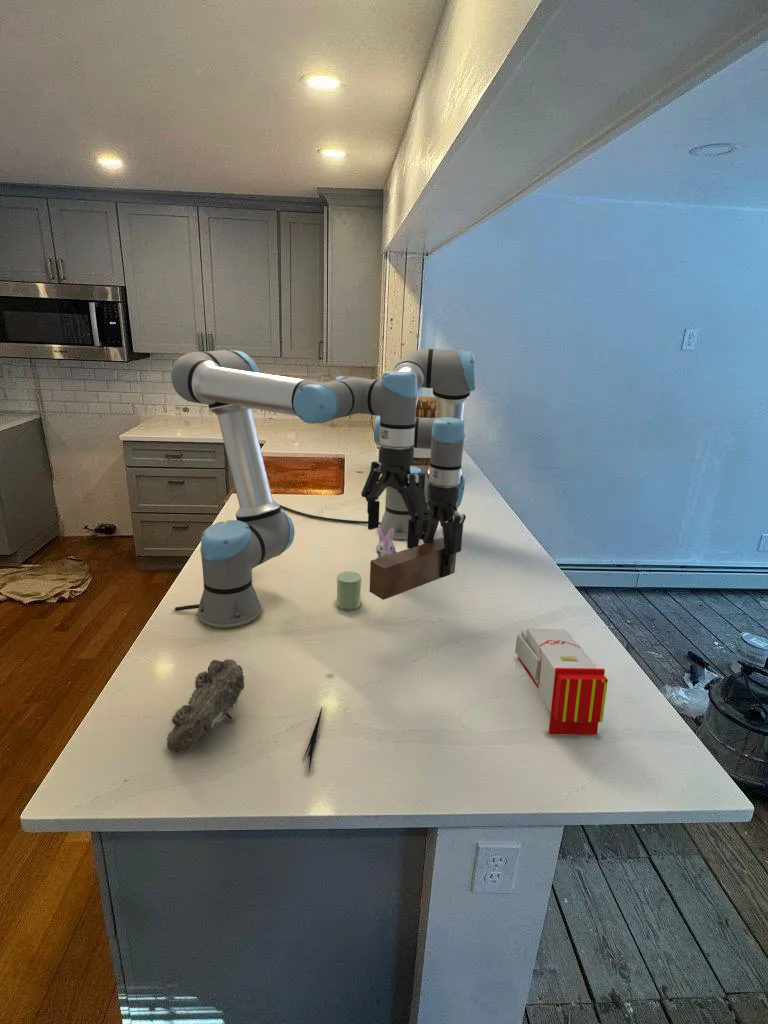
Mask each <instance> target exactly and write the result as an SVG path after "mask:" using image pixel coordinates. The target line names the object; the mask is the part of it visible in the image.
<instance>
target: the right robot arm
mask: <svg viewBox="0 0 768 1024" xmlns="http://www.w3.org/2000/svg"><path fill="white" fill-rule="evenodd" d="M475 363H476V362H475V355H474V353H473V352H472V351H469V350H461V349H443V348H441V349H440V348H419V349H416V350H415V349H414V350H413V351H410V352H409V353H407V354H405V355H404V356H403V357H401V358H400V360H398V361H397V363H396V364H395V365H394V367H393V370H392V371H404V372H411V373H414V374H415V375H416V377H417V394H418V395H419V393H420V390H421V388H423V389H424V388H425V389H432V396H433V397H436V399H437V406H436V419H426V418H415V441H414V445H413V446H412V447H413V448H422V449H431V458H430V466H428V468H427V472H422V469H421V468H420V467H419V466H418V467H417V466H410V472H411V473H412V474H417V473H420V474H421V484H422V488H423V492H424V496H425V499H426V503H427V507H428V511H429V514H430V518H429V519H425V520H422V526H421V533H420V534H419V540H421V541H423V543H422V544H425V543H428V542H431V541H434V540H435V536H436V533H437V529H438V528H439V527H438V526H439V523H440V527H441V528H442V538H444V547H445V552H443V553H442V562H441V574H440V577H442V578H445V577H448V576H450V575H451V574H450V568H451V565H452V564H453V556H454V554H455V553H456V554H458V553H460V552H461V551H462V544H463V533H464V532H463V531H464V524H465V521H466V519H467V516H466V514H464V513H463V514H462V513H460V512H458V508H460V506H461V504H462V502H463V501H462V500H463V497H464V493H465V487H466V476H465V475H463V472H462V461H463V452H464V443H465V437H466V423H465V421H463V419H464V408H465V401H466V400H468V399H469V398H470V396H471V392H474V391H475V390H476V364H475ZM418 397H419V396H418ZM418 397H417V399H418ZM416 406H417V403H416ZM373 440H374V443H375V445H377V446H381V444H380V442H379V441H380V416H376V418H375V420H374V425H373ZM405 487H406V485H405ZM403 488H404V487H403ZM279 505H280V508H281V509H282V510H286V511H288V512H291V513H293V514H297V515H299V516H304V517H307V518H312V519H316V520H323V521H329V522H336V523H337V522H339V523H347V524H361V525H368V520H353V519H342V518H333V517H326V516H319V515H313V514H310V513H306V512H301V511H299V510H295V509H293V508H290V507H287V506H285V505H281V504H279ZM384 505H385V507H384V508H385V509H384V513H383V515H382V519H381V521H379V528H378V530H379V529H380V528H381V529H382V530H383V531H384V533H385V535H386V534H387V533H388V531H389V530H390V528H394V534H393V537H392V540H395V541H408V524H409V520H410V519H412V518H411V516H410V514H409V512H408V509H407V507H406V505H405V503H404V500H403V498H402V496H401V494H400V493H398V491H397V489H393V488H392V487H388V486H387V487H386V489H385V504H384ZM415 514H416V515H417V513H415ZM423 514H424V513H423ZM442 578H441V579H442Z"/></svg>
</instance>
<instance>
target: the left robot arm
mask: <svg viewBox="0 0 768 1024" xmlns="http://www.w3.org/2000/svg"><path fill="white" fill-rule="evenodd" d="M170 378H171V384H172V388H173V389H174V391H175V393H176V394H177V395H178V396H179V397H180V398H182V399H183V400H185V401H187V402H190V403H194V404H195V403H196V404H202V405H208V409H209V411H210V412H211V413H213V414H215V415H216V416H217V419H218V424H219V429H220V432H221V437H222V441H223V444H224V448H225V452H226V457H227V461H228V465H229V469H230V473H231V478H232V481H233V486H234V489H235V493H236V497H237V501H238V505H239V508H238V510H237V511H236V513H235V518H236V520H235V519H230V520H226V521H218V522H215V523H213V524H211V525H210V526H208V527H206V528H205V530H204V531H203V532H202V535H201V537H200V550H199V551H200V555H201V568H202V576H203V577H202V579H203V590H202V593H201V598H200V601H199V604H190V605H189V604H188V605H181V606H176V607H174V611H175V612H180V611H187V610H195V609H197V617H198V620H199V622H200V623H201V624H202V625H203V626H205V627H208V628H210V629H214V630H215V629H216V630H232V629H233V630H234V629H238V628H239V629H240V628H243V627H246V626H248V625H250V624H253V622H255V621H257V620H258V618H259V617H260V615H261V612H262V611H261V602H260V600H259V597H258V594H257V592H256V590H255V588H254V586H253V585H254V584H253V569H254V568H256V567H258V566H259V565H262V564H264V563H265V562H268V561H270V560H272V559H273V558H277V557H279V556H281V555H282V554H283V553H284V552H286V551H287V550H289V548H290V547H291V546H292V544H293V542H294V539H295V535H296V534H295V525H294V522H293V519H292V517H290V516H289V515H288V513H287V512H286V511H284V510H283V509H282V508H280V505H281V504H279V502H276V501H275V500H274V499H273V496H272V491H271V487H270V483H269V478H268V474H267V470H266V466H265V462H264V457H263V452H262V448H261V445H260V439H259V436H258V431H257V427H256V422H255V418H254V413H253V409H256V410H261V411H266V412H272V413H277V414H283V415H287V416H295V417H297V418H299V419H300V420H301V421H303V422H304V423H306V424H310V425H313V424H324V423H327V422H329V421H334V420H338V419H340V418H344V417H345V418H346V417H350V416H354V415H359V414H361V415H371V416H376V417H377V416H380V441H379V442H380V444H381V445H379V447H378V460H377V461H376V460H375V461H372V462H371V465H370V471H369V474H368V475H367V479H366V481H365V483H364V486H363V488H362V490H361V493H360V495H361V497H362V498H365V500H366V502H367V509H366V510H367V511H366V512H367V521H368V524H367V530H369V531H372V530H374V529H375V530H376V529H379V527H380V525H379V522H380V505H381V503H380V501H379V498H380V496H381V495H382V494H383V492H385V491H386V487H387V486H388V487H392V488H393V489H397V491H398V493H400V494H401V496H402V498H403V500H404V503H405V505H406V507H407V509H408V512H409V514H410V516H411V518H412V519H410V520H409V524H408V540H407V542H406V549H411V548H414V547H417V546H419V545H420V539H419V534H420V533H421V526H422V520H425V519H429V518H430V514H429V511H428V507H427V503H426V499H425V496H424V492H423V488H422V484H421V474H420V473H417V474H412V473H411V472H410V467H412V466H411V465H412V464H413V457H414V448H413V447H412V446H413V445H414V441H415V417H416V403H417V397H419V393H418V394H417V377H416V375H415V374H414V373H411V372H404V371H393V370H386V371H384V372H382V374H381V378H380V379H373V378H366V377H365V378H364V377H357V376H354V375H348V376H347V375H338V376H336V377H335V378H334V380H332V381H316V380H308V379H304V378H302V379H301V378H296V377H291V376H290V377H289V376H282V375H275V374H269V373H263V372H260V370H259V368H258V366H257V364H256V362H255V361H254V359H253V358H252V357H251V356H250V355H248V354H247V353H245V352H243V351H241V350H235V349H233V350H232V349H220V350H219V349H218V350H207V351H191V352H188V353H185V354H183V355H182V356H180V357H179V358H178V359H177V360H176V361H175V363H174V364H173V366H172V369H171V374H170ZM405 485H406V487H405ZM403 487H404V488H403ZM415 513H417V515H416V514H415ZM423 513H424V514H423Z"/></svg>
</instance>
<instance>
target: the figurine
mask: <svg viewBox="0 0 768 1024" xmlns="http://www.w3.org/2000/svg"><path fill="white" fill-rule="evenodd" d="M393 534H394V528H390V530H389V531H388V533H387V534H386V535H385V533H384V531H383V530H382V529H381V528H380V529H379V528H378V543H377V544H376V549H375V551H376V554H377V557H376V559H378V558H381V557H384V556H387V555H390V554H393V553H397V552H398V551H396V545H395V544H394V542H393V539H392V537H393Z"/></svg>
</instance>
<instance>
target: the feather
mask: <svg viewBox="0 0 768 1024" xmlns="http://www.w3.org/2000/svg"><path fill="white" fill-rule="evenodd" d="M329 675H330V676H331V675H332V674H331V673H330V674H329ZM322 710H323V707H321V708H320V710H319V713H318V716H317V719H316V723H315V725H314V728H313V731H312V733H311V737H310V739H309V742H308V745H307V748H306V751H305V754H304V757H303V760H302V763H301V767H302V765H303V763H304V761H305V758H308V759H309V760H308V762H307V763H308V764H307V766H308V771H310V770H311V766H312V765H311V764H312V760H313V757H315V756H314V755H315V751H316V749H315V746H317V739H318V733H319V729H320V722H321V717H322V712H323V711H322ZM313 754H314V755H313ZM306 755H307V757H306Z"/></svg>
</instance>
